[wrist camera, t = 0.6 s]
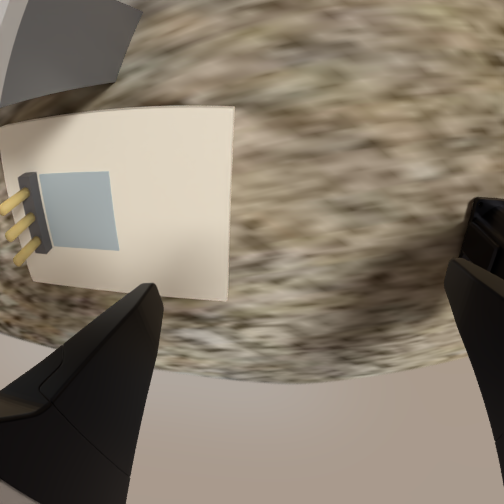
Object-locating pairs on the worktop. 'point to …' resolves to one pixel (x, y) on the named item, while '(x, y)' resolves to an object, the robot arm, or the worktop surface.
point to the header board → (123, 198)
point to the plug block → (61, 45)
